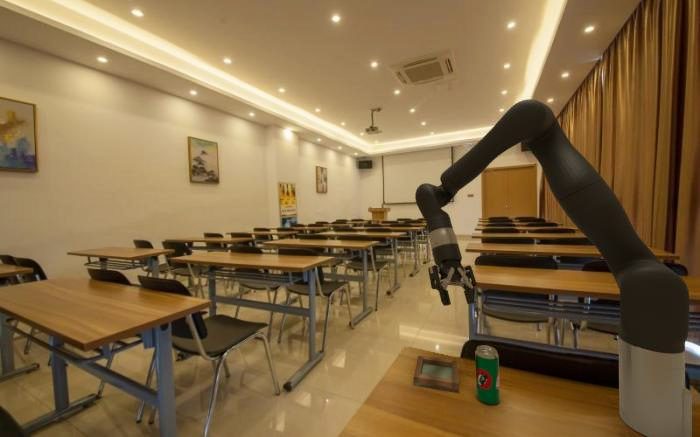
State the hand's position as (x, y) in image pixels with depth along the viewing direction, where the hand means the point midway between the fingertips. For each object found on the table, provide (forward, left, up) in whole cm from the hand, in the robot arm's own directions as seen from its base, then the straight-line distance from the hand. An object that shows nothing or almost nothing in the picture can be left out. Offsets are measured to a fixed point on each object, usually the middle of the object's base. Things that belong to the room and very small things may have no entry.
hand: (459, 304), depth 76 cm
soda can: (-6, +7, -20) cm, 22 cm away
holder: (+6, +1, -20) cm, 21 cm away
